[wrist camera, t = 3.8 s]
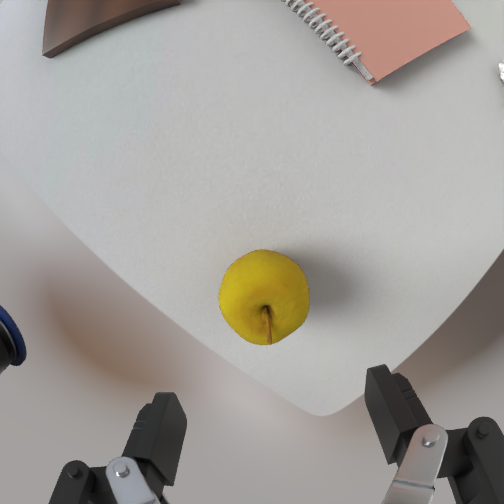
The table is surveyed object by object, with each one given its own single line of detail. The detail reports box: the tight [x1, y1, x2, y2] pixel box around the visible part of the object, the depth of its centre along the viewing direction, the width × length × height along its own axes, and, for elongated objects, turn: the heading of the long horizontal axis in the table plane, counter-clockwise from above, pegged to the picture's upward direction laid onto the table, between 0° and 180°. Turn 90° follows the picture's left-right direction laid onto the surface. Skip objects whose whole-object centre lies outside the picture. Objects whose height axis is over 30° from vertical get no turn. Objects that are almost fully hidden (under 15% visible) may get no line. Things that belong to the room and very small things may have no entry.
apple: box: [218, 250, 309, 345], centre depth 20 cm, size 6×6×8 cm
